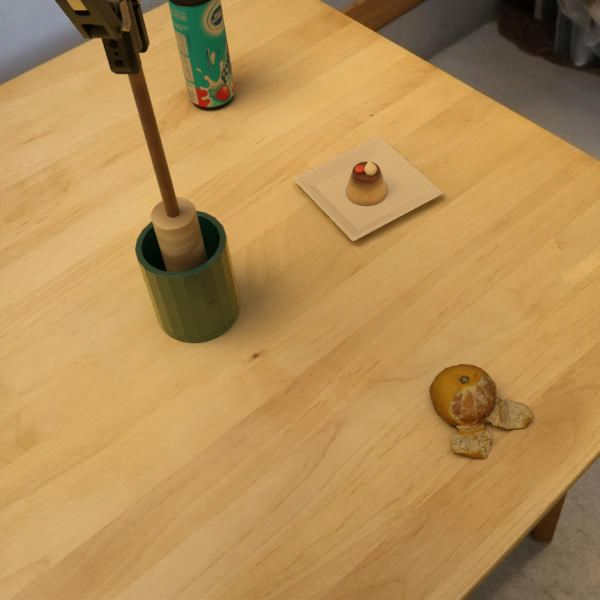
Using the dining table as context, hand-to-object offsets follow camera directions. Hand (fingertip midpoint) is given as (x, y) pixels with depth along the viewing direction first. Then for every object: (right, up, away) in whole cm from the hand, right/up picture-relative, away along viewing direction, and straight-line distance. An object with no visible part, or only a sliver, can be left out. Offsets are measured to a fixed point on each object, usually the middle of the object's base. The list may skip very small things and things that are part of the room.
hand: (131, 60), depth 63 cm
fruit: (+28, -29, +13) cm, 42 cm away
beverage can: (+1, +8, +45) cm, 46 cm away
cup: (+2, -19, +23) cm, 30 cm away
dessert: (+20, -6, +32) cm, 38 cm away
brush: (+2, -14, +18) cm, 23 cm away
